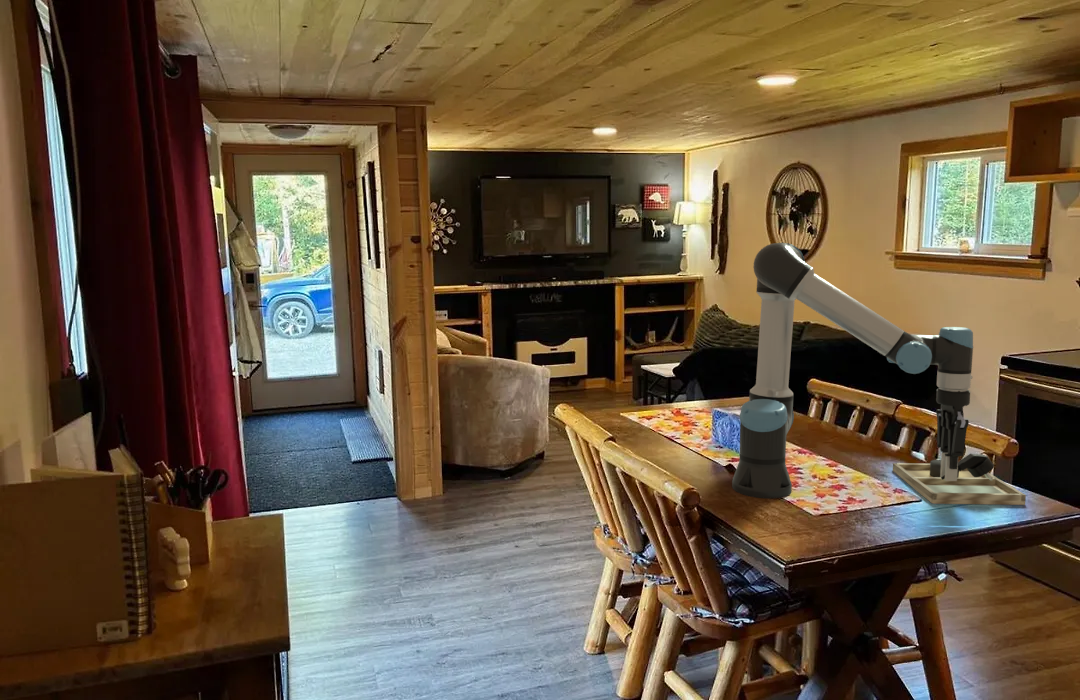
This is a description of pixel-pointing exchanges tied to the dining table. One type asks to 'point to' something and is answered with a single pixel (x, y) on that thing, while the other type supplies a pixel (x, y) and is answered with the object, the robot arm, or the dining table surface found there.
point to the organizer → (958, 487)
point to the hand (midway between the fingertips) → (948, 478)
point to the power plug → (976, 465)
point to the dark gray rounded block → (936, 468)
